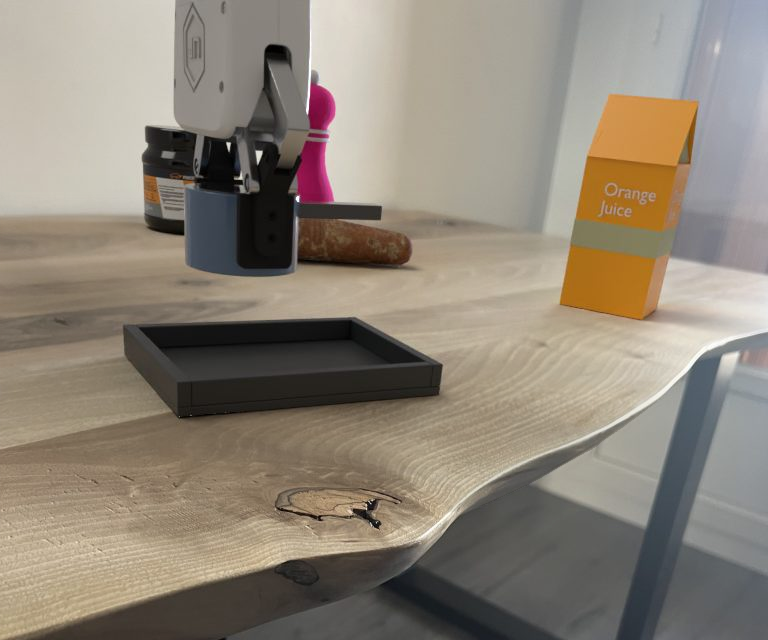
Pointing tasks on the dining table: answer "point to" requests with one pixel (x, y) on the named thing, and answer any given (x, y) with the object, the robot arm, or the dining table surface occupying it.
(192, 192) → the pan
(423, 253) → the dining table surface
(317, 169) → the pepper mill
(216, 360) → the tray
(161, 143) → the supplement container
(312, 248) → the brown elongated bar
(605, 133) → the orange juice
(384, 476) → the dining table surface
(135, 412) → the dining table surface
